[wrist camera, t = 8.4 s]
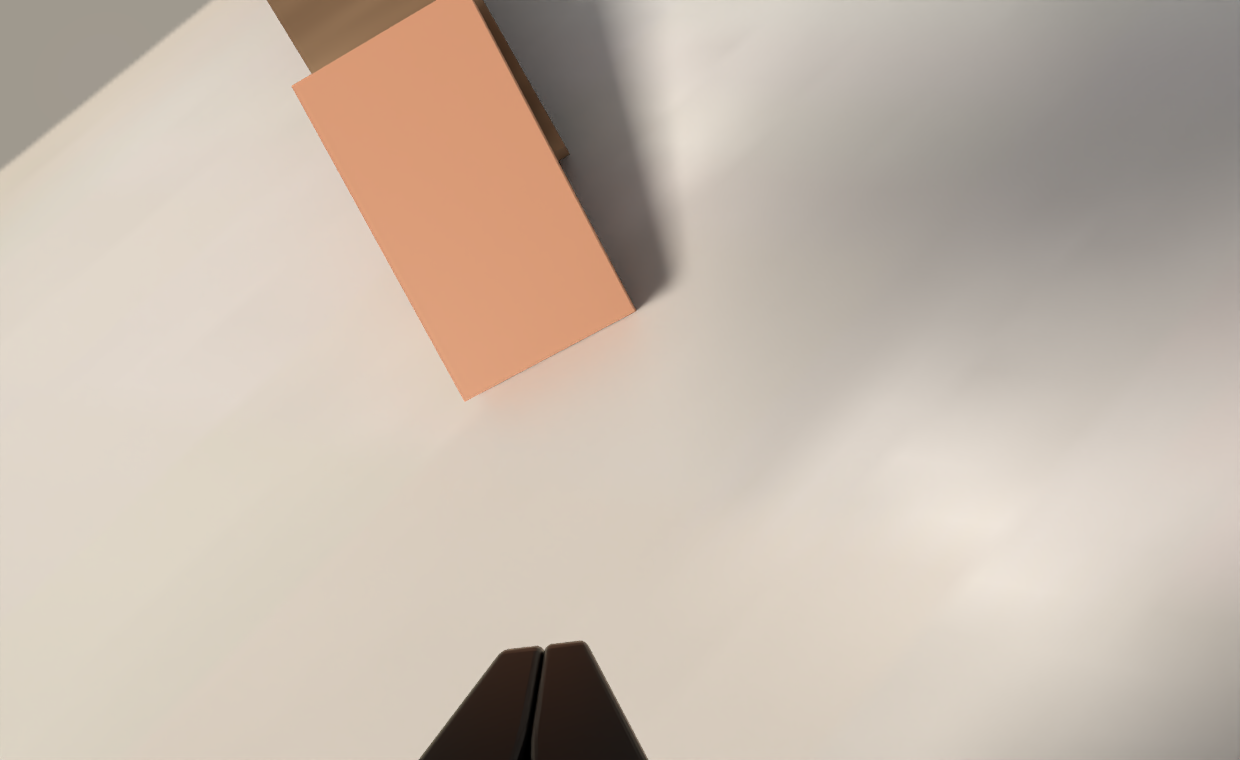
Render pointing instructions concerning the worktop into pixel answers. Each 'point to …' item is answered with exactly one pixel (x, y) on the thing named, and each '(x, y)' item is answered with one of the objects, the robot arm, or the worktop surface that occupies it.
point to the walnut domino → (363, 8)
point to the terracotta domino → (464, 195)
